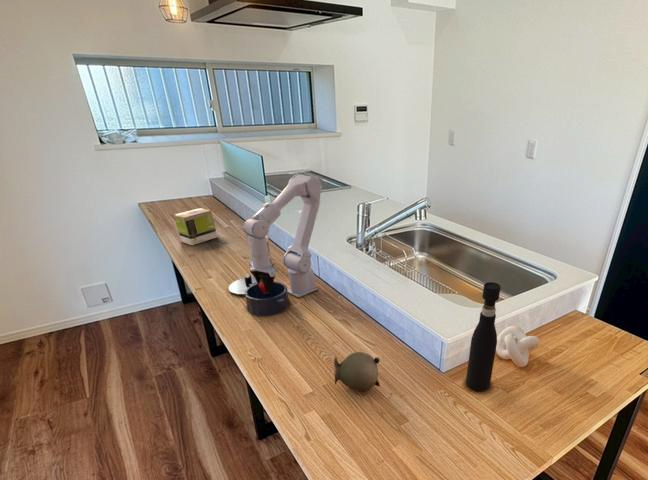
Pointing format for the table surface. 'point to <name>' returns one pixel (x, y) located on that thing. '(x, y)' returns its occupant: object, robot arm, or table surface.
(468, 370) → the black bottle
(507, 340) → the white decorative knot
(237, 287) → the lid
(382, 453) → the table surface
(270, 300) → the pot
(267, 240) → the sprinkles bottle
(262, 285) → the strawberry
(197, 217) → the tea box
